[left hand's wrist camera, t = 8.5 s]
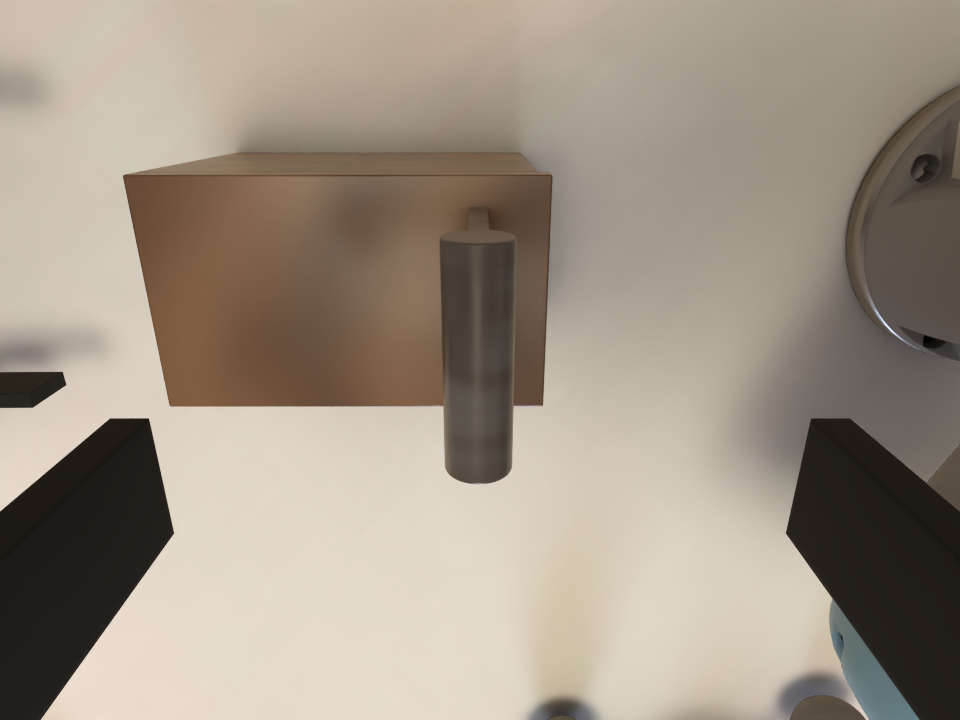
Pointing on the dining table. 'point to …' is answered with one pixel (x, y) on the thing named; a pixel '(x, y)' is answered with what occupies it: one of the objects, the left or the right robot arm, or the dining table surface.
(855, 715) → the molecular model
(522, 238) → the lid
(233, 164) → the chest
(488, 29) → the dining table surface
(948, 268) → the left robot arm
